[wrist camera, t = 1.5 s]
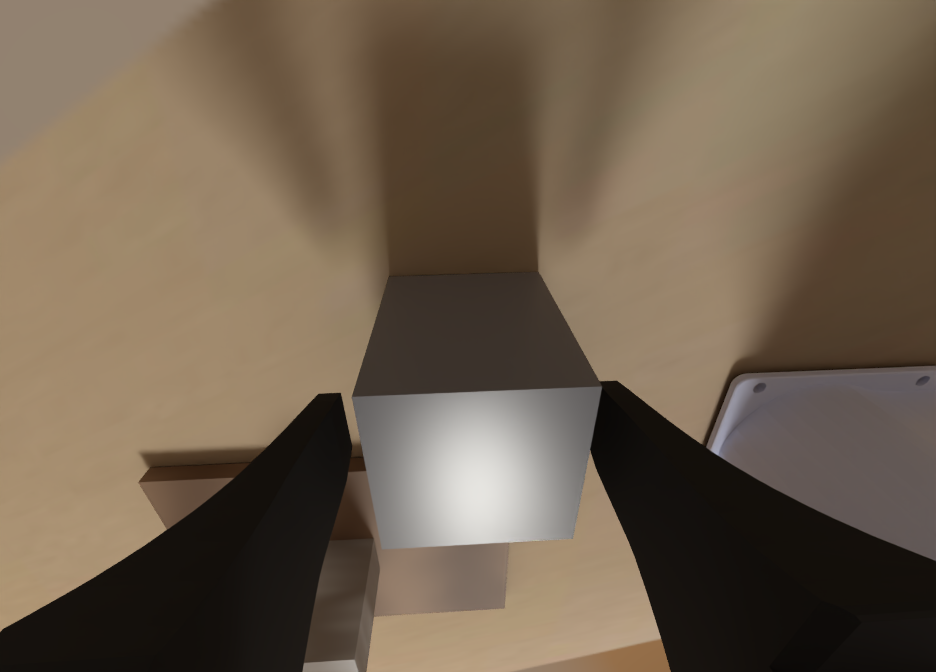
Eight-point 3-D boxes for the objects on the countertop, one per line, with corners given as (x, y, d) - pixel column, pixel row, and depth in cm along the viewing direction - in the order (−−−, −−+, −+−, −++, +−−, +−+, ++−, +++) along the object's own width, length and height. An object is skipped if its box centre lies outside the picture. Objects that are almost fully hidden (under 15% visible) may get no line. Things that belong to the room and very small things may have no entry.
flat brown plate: (511, 450, 18) (536, 580, 13) (502, 594, 25) (518, 720, 20) (149, 467, 18) (35, 610, 13) (232, 610, 24) (176, 745, 19)
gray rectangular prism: (538, 271, 14) (602, 386, 9) (529, 390, 17) (573, 538, 11) (389, 276, 14) (352, 396, 8) (403, 395, 17) (382, 549, 11)
